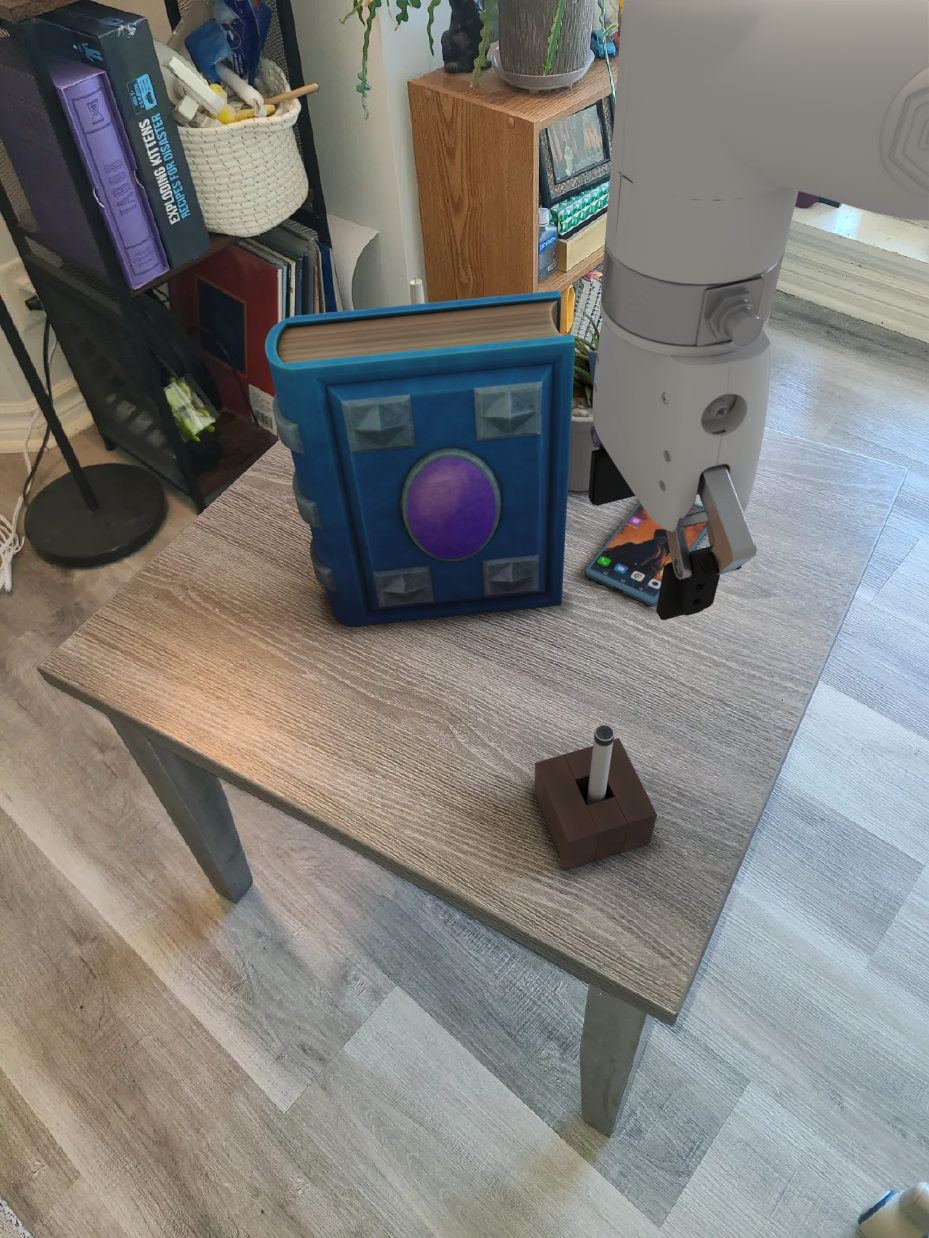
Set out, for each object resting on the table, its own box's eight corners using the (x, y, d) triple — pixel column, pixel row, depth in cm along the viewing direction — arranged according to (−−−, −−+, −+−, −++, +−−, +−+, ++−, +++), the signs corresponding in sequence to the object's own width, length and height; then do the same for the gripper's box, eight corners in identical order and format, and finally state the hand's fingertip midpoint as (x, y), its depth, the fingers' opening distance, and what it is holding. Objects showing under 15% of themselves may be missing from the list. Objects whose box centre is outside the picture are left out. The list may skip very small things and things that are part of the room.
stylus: (598, 806, 76) (610, 722, 66) (604, 821, 75) (617, 738, 65) (582, 811, 75) (591, 727, 65) (588, 826, 74) (598, 743, 64)
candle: (397, 391, 114) (383, 278, 102) (427, 373, 116) (416, 260, 104) (425, 408, 112) (413, 294, 100) (455, 389, 114) (447, 275, 102)
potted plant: (617, 522, 97) (634, 364, 82) (505, 484, 102) (502, 328, 87) (661, 455, 104) (685, 297, 88) (554, 422, 109) (559, 267, 93)
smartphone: (582, 571, 92) (651, 484, 99) (582, 579, 93) (650, 494, 100) (654, 601, 88) (720, 510, 96) (653, 610, 89) (719, 519, 97)
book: (322, 641, 89) (253, 384, 65) (322, 576, 94) (259, 318, 71) (564, 616, 89) (580, 353, 66) (550, 553, 95) (560, 290, 72)
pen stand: (614, 768, 78) (619, 737, 74) (650, 843, 73) (657, 814, 69) (534, 792, 77) (534, 762, 73) (565, 870, 72) (568, 842, 68)
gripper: (877, 370, 35) (779, 643, 48) (678, 182, 45) (643, 447, 59) (700, 413, 34) (650, 681, 47) (539, 210, 44) (535, 474, 57)
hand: (646, 550), depth 53 cm, fingers open, 9 cm apart
